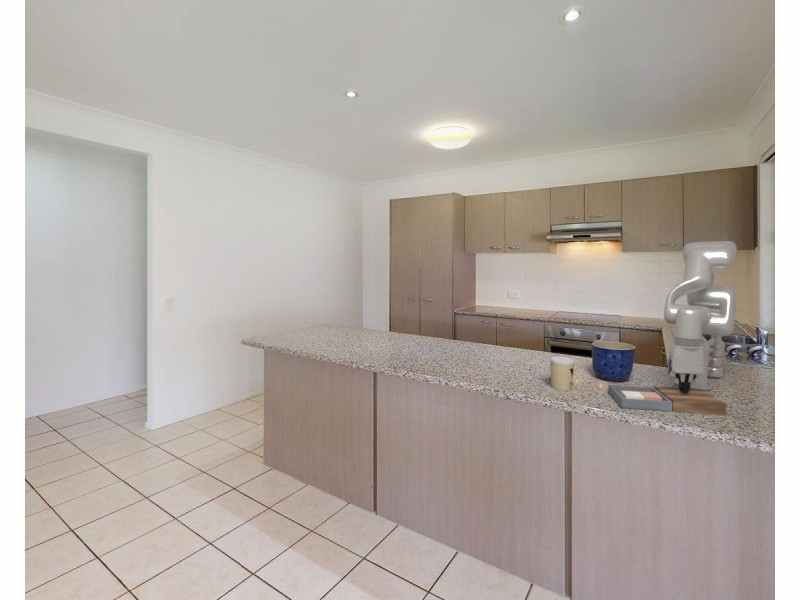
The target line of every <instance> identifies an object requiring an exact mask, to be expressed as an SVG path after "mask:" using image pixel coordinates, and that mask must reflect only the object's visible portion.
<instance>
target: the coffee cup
mask: <svg viewBox="0 0 800 600" xmlns="http://www.w3.org/2000/svg"><path fill="white" fill-rule="evenodd" d="M549 359H550V360H549V363H550V365H549V366H550V383H551V384H550V386H551V388H552V389H553V390H556V389H557V391H563V390H566V391H570V389H571V390H572V386H573V377H574V367H575V360H574V359H573V358H570V357H567V356H553V357H550V358H549Z"/></svg>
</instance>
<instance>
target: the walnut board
mask: <svg viewBox="0 0 800 600" xmlns="http://www.w3.org/2000/svg"><path fill="white" fill-rule="evenodd" d="M653 387H654V388H655V389H656V390H658V391H659V392H660V393H661V394H663V395H664V396H665V397H667V398H668V399H669V400H671V401H672V412H674V413H683V414H684V413H687V414H700V415H701V414H703V415H718V416H726V412H727V411H726V410H727V402H724V401H723V400H721V399H720V398H717V397H715V396H714V395H713V394H711V393H709V392H707V390H703V389H696V388H690V390H689V393H683V392H681V391H680V390H679V386H678V387H677V386H675V387H672V386H656V385H654V386H653Z"/></svg>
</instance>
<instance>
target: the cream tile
mask: <svg viewBox="0 0 800 600" xmlns="http://www.w3.org/2000/svg"><path fill="white" fill-rule="evenodd" d="M621 396H622V397H623V398H627V399H644V396H642V395H641V394H640V393H639V392H636V391H621Z"/></svg>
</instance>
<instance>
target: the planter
mask: <svg viewBox="0 0 800 600" xmlns="http://www.w3.org/2000/svg"><path fill="white" fill-rule="evenodd" d="M635 353H636V346H635V345H633V344H630V343H626V342H621V341H620V342H619V341H609V340H608V341H607V340H604V341H602V340H601V341H600V340H599V341H593V342H592V343H591V359H592V361H591V363H592V370H593V371H594V372H593V373H594V374H595V376H597V377H598V378H599V379H602V380H604V381H608V382H624V381H626V380H628V379H629V378H630V376H631V375H632V373H633V369H634V361H635V355H636V354H635Z"/></svg>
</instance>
